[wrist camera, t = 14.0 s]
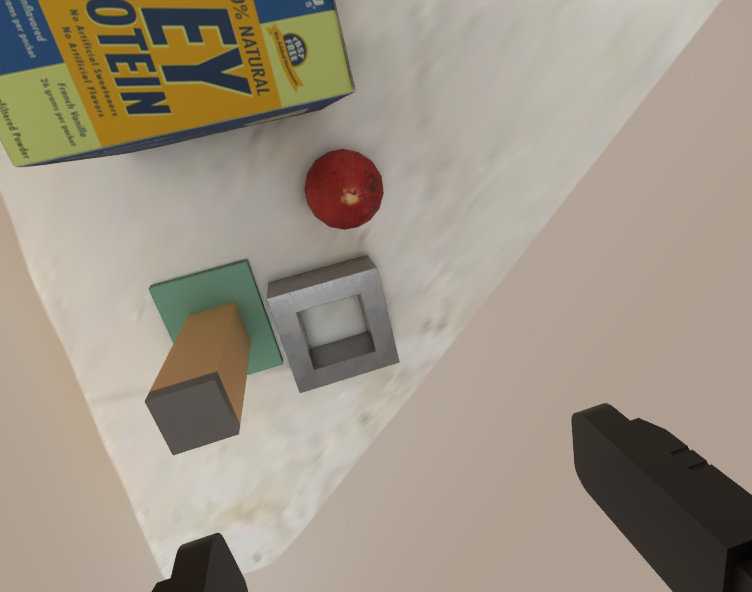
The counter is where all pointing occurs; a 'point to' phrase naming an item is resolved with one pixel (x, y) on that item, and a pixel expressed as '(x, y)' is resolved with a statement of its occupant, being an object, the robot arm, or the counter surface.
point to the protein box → (159, 71)
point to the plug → (202, 380)
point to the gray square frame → (344, 354)
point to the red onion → (344, 189)
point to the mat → (215, 291)
